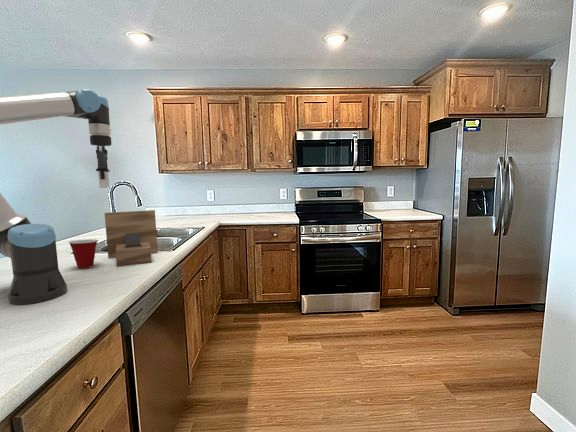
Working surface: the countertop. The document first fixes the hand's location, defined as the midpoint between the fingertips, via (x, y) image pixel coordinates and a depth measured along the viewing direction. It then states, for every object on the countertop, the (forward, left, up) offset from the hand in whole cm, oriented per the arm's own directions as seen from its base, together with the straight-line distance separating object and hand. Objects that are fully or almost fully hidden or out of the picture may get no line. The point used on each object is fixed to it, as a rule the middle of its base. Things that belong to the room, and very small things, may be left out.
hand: (104, 187), depth 129 cm
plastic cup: (+7, +10, -35) cm, 37 cm away
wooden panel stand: (+10, -9, -35) cm, 37 cm away
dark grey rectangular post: (+7, -9, -34) cm, 36 cm away
